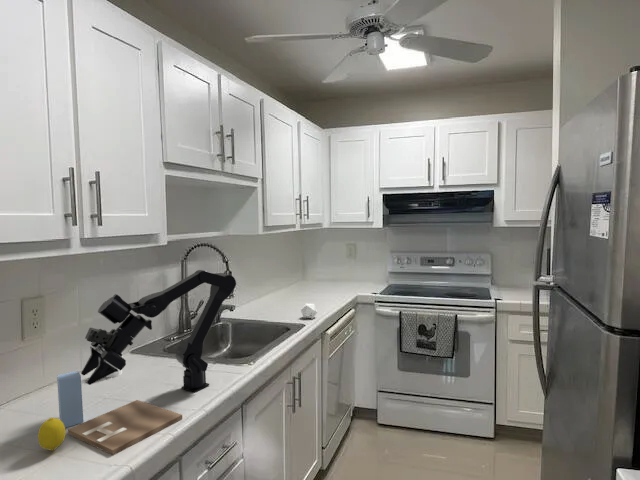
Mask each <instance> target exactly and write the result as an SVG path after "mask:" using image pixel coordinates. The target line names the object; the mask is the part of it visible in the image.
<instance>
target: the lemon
mask: <svg viewBox="0 0 640 480" xmlns="http://www.w3.org/2000/svg"><path fill="white" fill-rule="evenodd" d="M65 438H66V428H65V426H64V424H63V422H62V421H61V420H60V418H56V417H55V418H54V417H49V418H48V419H47V420H45V421H44V422H43V423H42V424H41V425H40V427H39V430H38V433H37V440H38V443H39V445H40V447H41V448H42V449H44V450H50V451H51V452H53V451H55V450H56V449H57V448H58V447H59V446H61V445H62V443H63V442H64V440H65Z"/></svg>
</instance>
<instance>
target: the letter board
mask: <svg viewBox="0 0 640 480" xmlns="http://www.w3.org/2000/svg"><path fill="white" fill-rule="evenodd" d="M181 420H183V414H181V413H178V412H175V411H172V410H169V409H166V408H162V407H160V406H157V405H155V404H152V403H151V404H150V403H147V402H145V401H143V400H140V399H139V400H138V399H136V400H134V401H132V402H129V403H127V404H124V405H122V406H120V407H117V408H115V409H113V410H111V411H108V412H105V413H103V414H101V415H98V416H96V417H93V418H91V419H88V420H86V421H83V423H80V424H76V425H73V426H71V427H69V428H68V429H67V434H68V435H69V436H72V437H74V438H76V439H78V440H80V441H82V442H84V443H86V444H89V445H91V446H93V447H95V448H97V449H99V450H101V451H103V452H106V453H108V454H109V455H112V456H114V455H116V454H118V453H120V452H122V451H124V450H126V449H128V448H130V447H131V446H134V445H135V444H138V443H139V442H141V441H143V440H145V439H147V438H149V437H151V436H152V435H154V434H156V433H158V432H160V431H162V430H164V429H166V428H168V427H170V426H171V425H174V424H176V423H178V422H180V421H181Z"/></svg>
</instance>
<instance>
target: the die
mask: <svg viewBox="0 0 640 480" xmlns="http://www.w3.org/2000/svg"><path fill="white" fill-rule="evenodd" d="M300 312H301V314H302V317H303V319H306V318H311V319H310V320H314V318H315V316H316V315H317V313H318V310H317V308H316V305H315V303H305V304H304V305H303V306H302V307H301V309H300Z"/></svg>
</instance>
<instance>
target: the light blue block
mask: <svg viewBox="0 0 640 480" xmlns="http://www.w3.org/2000/svg"><path fill="white" fill-rule="evenodd" d="M81 375H82V374H81V373H80V372H79V371H78V370H75V371H71V372H67V373H61V374H58V375H57V376H56V380H57V382H56V384H57V398H58V399H57V400H58V413H59V414H58V415H59V420H61V421H62V422H63V424H64V426H65V429H66V428H68V427H69V428H70V427H74V426H77V425H79V424H82V423H84V407H83V406H84V405H83V390H82V376H81Z"/></svg>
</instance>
